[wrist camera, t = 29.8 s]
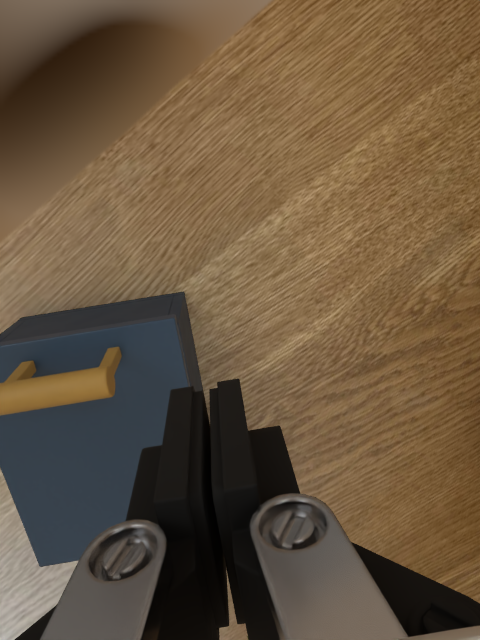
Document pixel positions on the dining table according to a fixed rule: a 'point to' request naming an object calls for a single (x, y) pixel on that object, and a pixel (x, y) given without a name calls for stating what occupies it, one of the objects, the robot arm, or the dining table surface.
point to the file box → (114, 315)
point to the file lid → (83, 425)
